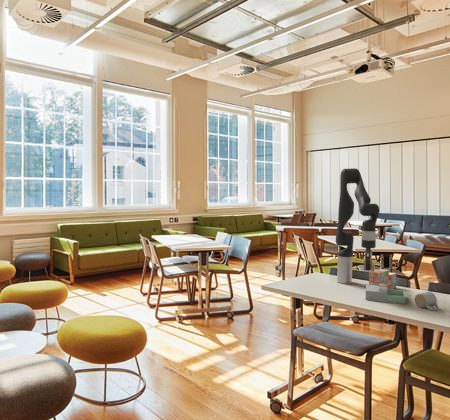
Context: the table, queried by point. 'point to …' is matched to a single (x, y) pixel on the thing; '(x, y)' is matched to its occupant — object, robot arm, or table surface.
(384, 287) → the tile
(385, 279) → the stack of blocks
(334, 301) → the table surface
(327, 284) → the table surface
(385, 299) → the grey flat block
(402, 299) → the tray
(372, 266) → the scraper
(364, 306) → the table surface
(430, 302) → the ceramic mug
